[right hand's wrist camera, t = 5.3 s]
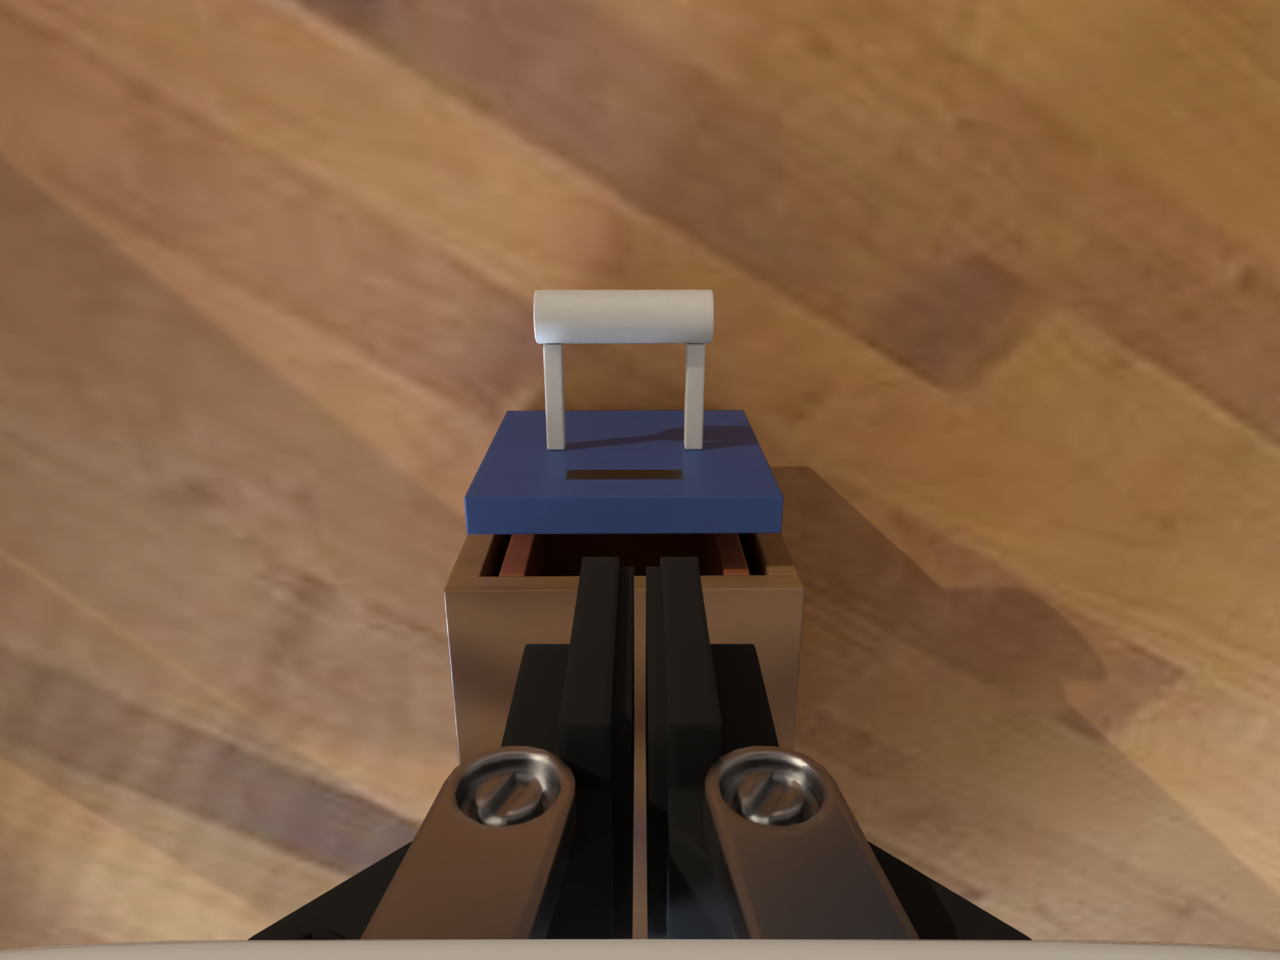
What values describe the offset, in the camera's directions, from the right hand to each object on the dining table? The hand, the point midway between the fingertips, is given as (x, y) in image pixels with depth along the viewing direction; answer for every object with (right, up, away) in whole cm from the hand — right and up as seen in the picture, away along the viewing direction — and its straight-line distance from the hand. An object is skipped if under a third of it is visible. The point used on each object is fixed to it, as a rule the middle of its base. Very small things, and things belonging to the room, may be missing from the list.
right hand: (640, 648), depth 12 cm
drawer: (-1, +1, +22) cm, 23 cm away
